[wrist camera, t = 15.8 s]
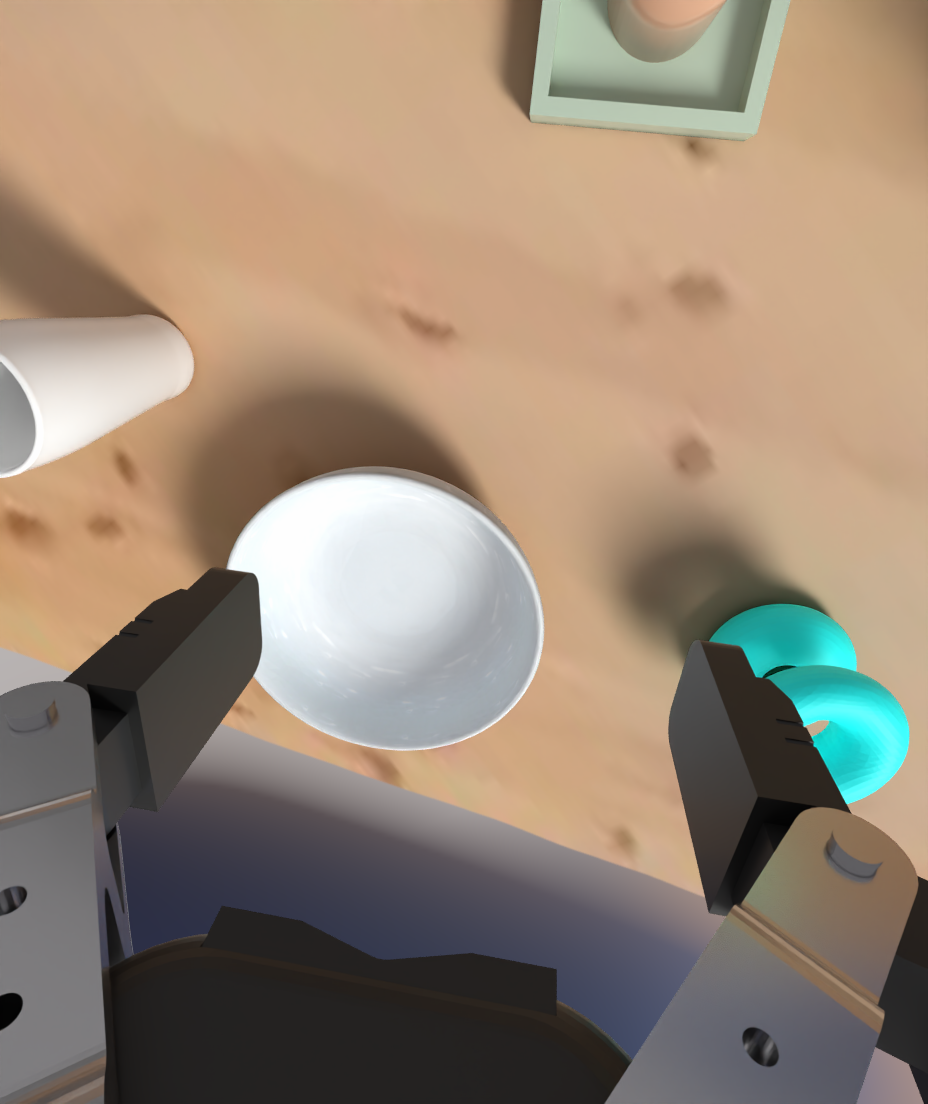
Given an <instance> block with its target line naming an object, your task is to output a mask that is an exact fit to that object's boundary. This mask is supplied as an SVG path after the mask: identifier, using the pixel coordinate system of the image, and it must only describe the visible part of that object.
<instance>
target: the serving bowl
mask: <svg viewBox="0 0 928 1104" xmlns="http://www.w3.org/2000/svg"><path fill="white" fill-rule="evenodd" d="M226 569H229V570H236V571H243V572H249V573H254V574H255V575H256V577H257V579H258V583H259V597H260V613H261V628H262V653H261V658H260V662H259V665H258V668H257V670H256V672H255V674H254V678H255V679H256V680H257V681H258V683H259V684H260V685H261V686H262V687H263V688H264V689H265V690H266V692H267V693H268V694H269V695H271V696H272V697H273V698H274V699H275V700H276V701H277V702H278V703H279V704H280V705H281V706H283V707H284V708H285V709H286V710H288V711H289V712H290V713H292V714H293V715H294V716H296V717H297V718H299V719H300V720H302V721H303V722H305V723H307V724H308V725H310V726H312V727H314V728H316V729H318V730H320V731H322V732H324V733H326V734H329V735H331V736H334V737H336V738H339V739H342V740H345V741H348V742H351V743H355V744H359V745H363V746H368V747H373V748H379V749H388V750H424V749H431V748H437V747H441V746H446V745H450V744H453V743H457V742H460V741H462V740H465V739H467V738H470V737H472V736H474V735H476V734H478V733H480V732H482V731H484V730H485V729H487V728H489V727H490V726H492V725H493V724H494V723H496V722H497V721H499V720H500V719H501V718H502V717H504V716H505V715H506V714H507V713H508V712H509V711H510V710H511V709H512V708H513V707H514V706H515V704H516V703H517V702H518V701H519V700H520V698H521V697H522V696H523V694H524V693H525V692H526V690H527V688H528V687H529V685H530V683H531V681H532V679H533V677H534V675H535V673H536V670H537V668H538V664H539V661H540V657H541V653H542V648H543V640H544V615H543V607H542V602H541V597H540V593H539V589H538V586H537V583H536V580H535V577H534V574H533V571H532V569H531V567H530V564H529V562H528V560H527V558H526V556H525V554H524V552H523V550H522V549H521V547H520V546H519V544H518V542H517V541H516V539H515V538H514V536H513V535H512V534H511V532H510V531H509V530H508V529H507V527H506V526H505V525H504V524H503V523H502V522H501V521H500V520H499V519H498V518H497V516H495V515H494V514H493V513H492V512H491V511H490V510H489V509H488V508H487V507H486V506H484V505H483V504H482V503H481V502H479V501H478V500H476V499H475V498H474V497H472V496H471V495H469V494H468V493H466V492H464V491H463V490H461V489H459V488H457V487H455V486H453V485H452V484H449V483H447V482H445V481H443V480H440V479H438V478H435V477H433V476H430V475H427V474H423V473H420V472H417V471H412V470H407V469H402V468H394V467H384V466H366V467H354V468H346V469H341V470H336V471H332V472H329V473H325V474H322V475H319V476H316V477H313V478H311V479H308V480H306V481H304V482H302V483H300V484H298V485H296V486H294V487H292V488H290V489H288V490H286V491H284V492H283V493H281V494H279V495H278V496H276V497H275V498H273V499H272V500H271V501H270V502H268V503H267V504H266V505H264V506H263V507H262V508H261V509H260V510H259V511H258V512H257V513H256V514H255V515H254V516H253V517H252V518H251V520H250V521H249V522H248V523H247V524H246V526H245V527H244V529H243V530H242V531H241V533H240V535H239V536H238V538H237V540H236V542H235V544H234V546H233V549H232V551H231V553H230V556H229V559H228V563H227V567H226Z"/></svg>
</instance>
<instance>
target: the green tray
mask: <svg viewBox="0 0 928 1104" xmlns="http://www.w3.org/2000/svg"><path fill="white" fill-rule="evenodd" d="M789 4H790V0H727V1H726V3H725V4H724V6H723V7H722V9H721V10H720V11H719V13H718V14H717V16H716V17H715V19H714V20H713V22H712V23H711V24H710V26H709V27H708V29H707V30H706V32H705V33H704V34H703V36H702V37H701V38H700V39H699V41H698V42H697V43H696V44H695V45H694V46H693V47H691V48H690V49H689V50H688V51H687V52H685V53H684V54H682V55H680V56H679V57H676V58H674V59H672V60H669V61H666V62H660V63H649V62H644V61H641V60H638V59H636V58H634V57H632V56H631V55H629V54H628V53H627V52H626V51H625V50H624V49H623V48H622V47H621V46H620V45H619V43H618V42H617V40H616V38H615V36H614V34H613V32H612V29H611V27H610V23H609V18H608V10H607V0H543V2H542V10H541V19H540V28H539V37H538V45H537V54H536V63H535V71H534V80H533V89H532V97H531V106H530V120H531V122H532V123H544V124H555V125H566V126H578V127H589V128H600V129H612V130H623V131H635V132H646V133H657V134H669V135H680V136H691V137H703V138H714V139H725V140H737V141H745V140H747V139H749V138H751V137H752V136H754V135H756V134H757V130H758V126H759V122H760V118H761V114H762V110H763V107H764V103H765V99H766V95H767V91H768V87H769V83H770V79H771V75H772V71H773V67H774V63H775V59H776V55H777V51H778V47H779V43H780V39H781V35H782V31H783V27H784V23H785V19H786V15H787V11H788V7H789Z"/></svg>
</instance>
